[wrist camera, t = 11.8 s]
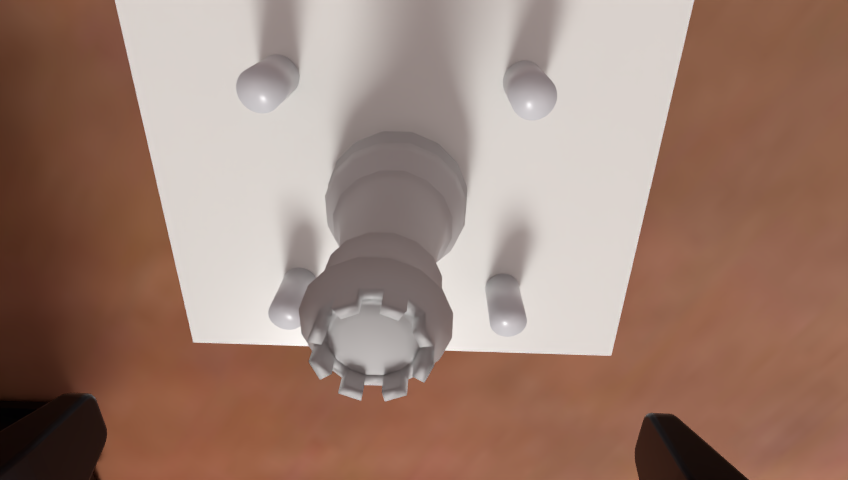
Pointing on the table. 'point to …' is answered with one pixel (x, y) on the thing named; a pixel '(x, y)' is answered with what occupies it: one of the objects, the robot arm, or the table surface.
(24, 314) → the table surface
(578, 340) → the peg board
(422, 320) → the rook chess piece
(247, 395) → the table surface
